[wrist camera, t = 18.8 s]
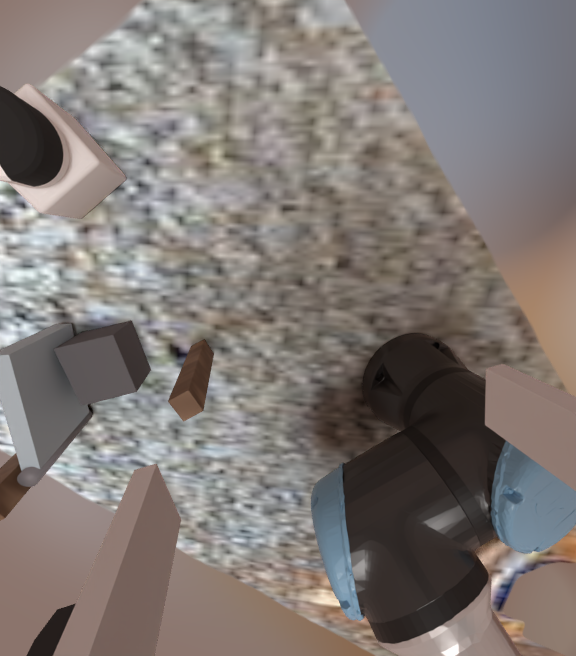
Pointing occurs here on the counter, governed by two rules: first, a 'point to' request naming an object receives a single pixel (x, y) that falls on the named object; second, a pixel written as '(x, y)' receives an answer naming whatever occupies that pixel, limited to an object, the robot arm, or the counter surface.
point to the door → (39, 401)
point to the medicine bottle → (52, 156)
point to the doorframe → (185, 398)
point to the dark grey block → (104, 362)
